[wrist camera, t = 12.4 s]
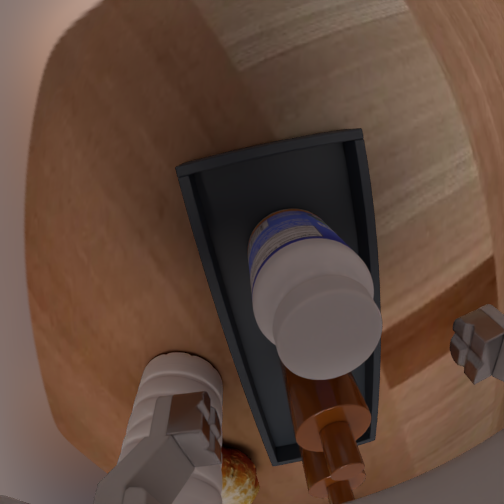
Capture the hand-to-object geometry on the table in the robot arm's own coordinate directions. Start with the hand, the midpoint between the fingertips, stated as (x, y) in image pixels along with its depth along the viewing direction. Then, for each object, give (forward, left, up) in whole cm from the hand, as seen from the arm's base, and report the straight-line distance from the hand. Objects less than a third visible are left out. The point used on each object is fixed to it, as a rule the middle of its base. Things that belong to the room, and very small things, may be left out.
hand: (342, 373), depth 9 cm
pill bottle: (0, 0, -12) cm, 12 cm away
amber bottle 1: (0, -8, -12) cm, 14 cm away
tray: (0, -7, -12) cm, 14 cm away
